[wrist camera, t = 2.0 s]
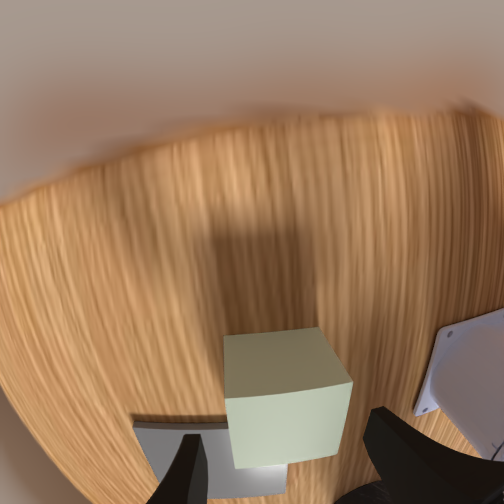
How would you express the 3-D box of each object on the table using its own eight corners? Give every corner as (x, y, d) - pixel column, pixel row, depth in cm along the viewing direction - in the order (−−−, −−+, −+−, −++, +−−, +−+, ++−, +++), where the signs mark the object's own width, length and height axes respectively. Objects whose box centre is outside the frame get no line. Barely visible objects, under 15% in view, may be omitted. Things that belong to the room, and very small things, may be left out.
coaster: (288, 416, 16) (290, 422, 16) (284, 488, 19) (285, 493, 18) (134, 421, 16) (132, 427, 15) (168, 492, 18) (167, 497, 17)
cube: (318, 326, 15) (353, 381, 10) (312, 395, 16) (337, 454, 11) (223, 334, 15) (224, 398, 10) (231, 404, 16) (235, 468, 11)
